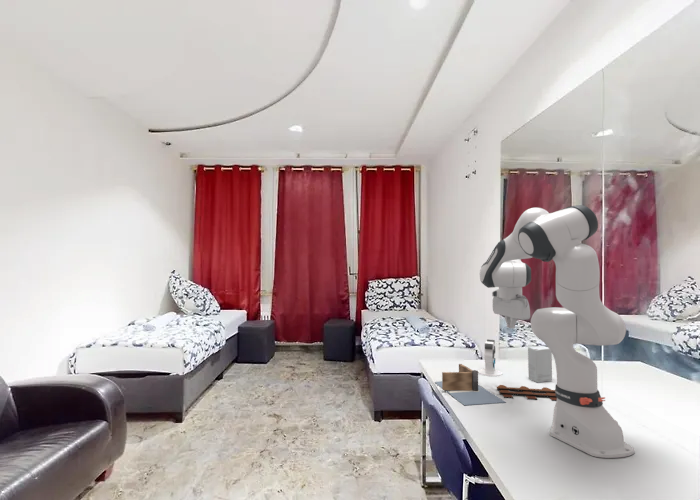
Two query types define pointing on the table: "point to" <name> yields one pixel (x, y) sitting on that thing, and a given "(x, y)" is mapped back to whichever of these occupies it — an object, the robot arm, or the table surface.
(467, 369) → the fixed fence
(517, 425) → the table surface
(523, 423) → the table surface
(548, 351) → the skincare box
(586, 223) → the robot arm
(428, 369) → the table surface
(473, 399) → the card
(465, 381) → the swing panel
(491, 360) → the white upright piece
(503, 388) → the decorative fence
